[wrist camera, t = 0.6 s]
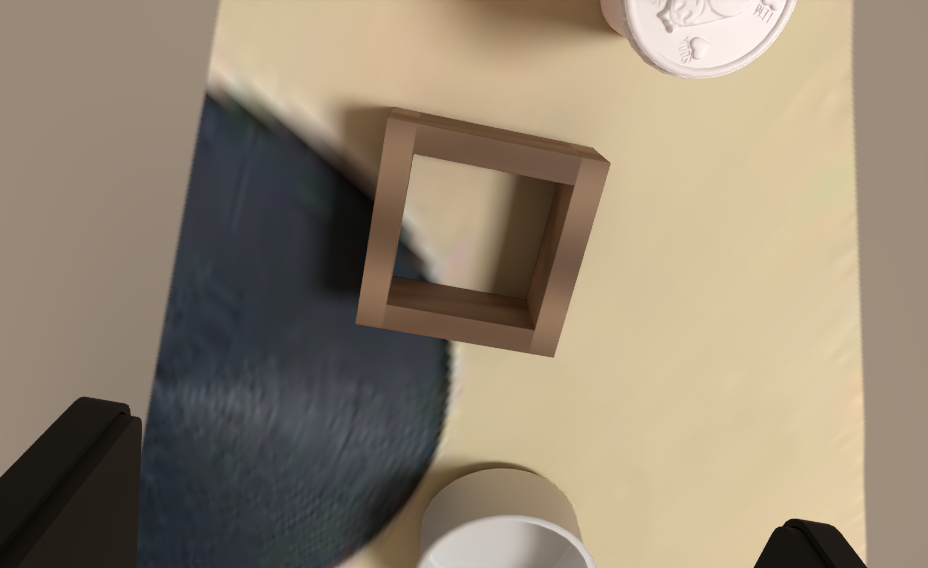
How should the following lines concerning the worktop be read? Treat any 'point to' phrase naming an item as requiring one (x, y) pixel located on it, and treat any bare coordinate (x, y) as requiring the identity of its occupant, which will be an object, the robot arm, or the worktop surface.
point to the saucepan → (501, 524)
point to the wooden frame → (467, 310)
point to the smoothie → (698, 32)
